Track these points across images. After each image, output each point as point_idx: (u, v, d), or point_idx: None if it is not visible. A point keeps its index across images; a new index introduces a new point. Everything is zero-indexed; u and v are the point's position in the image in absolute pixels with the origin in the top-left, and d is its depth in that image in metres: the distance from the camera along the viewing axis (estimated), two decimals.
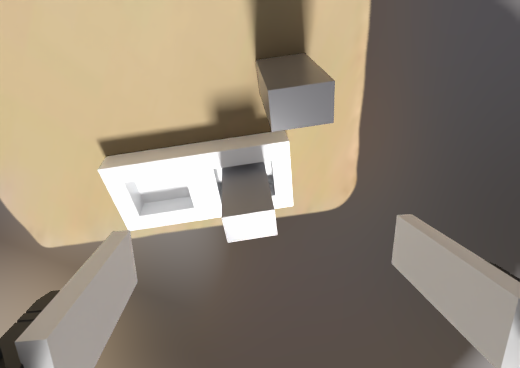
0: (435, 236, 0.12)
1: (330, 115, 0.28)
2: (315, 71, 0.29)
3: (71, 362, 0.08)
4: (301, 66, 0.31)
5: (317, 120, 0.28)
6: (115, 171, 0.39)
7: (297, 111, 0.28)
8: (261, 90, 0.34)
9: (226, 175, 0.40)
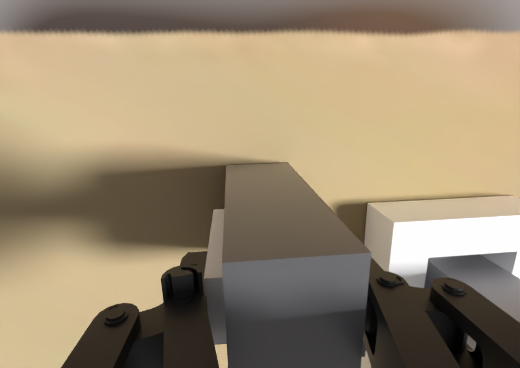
0: None
1: (342, 264, 0.08)
2: None
3: None
4: None
5: (350, 303, 0.08)
6: None
7: (307, 359, 0.09)
8: None
9: None
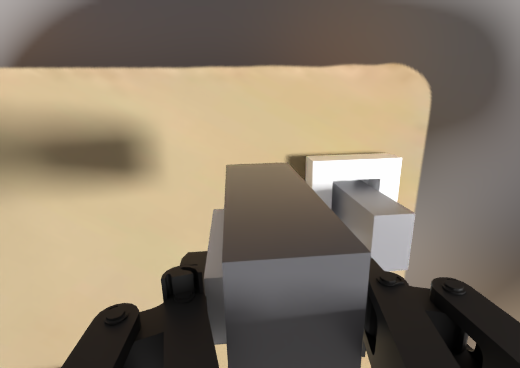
0: None
1: (342, 264, 0.08)
2: None
3: None
4: None
5: (350, 303, 0.08)
6: None
7: (307, 359, 0.09)
8: None
9: None
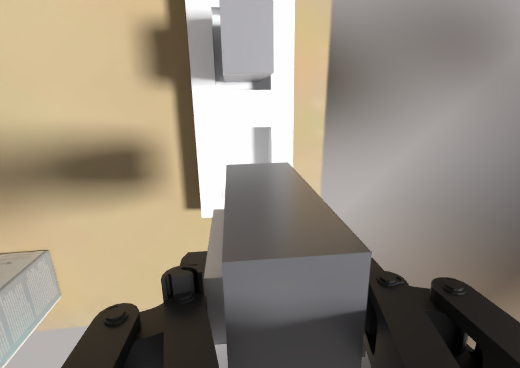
0: None
1: (342, 264, 0.08)
2: None
3: None
4: None
5: (350, 303, 0.08)
6: (205, 200, 0.35)
7: (308, 359, 0.09)
8: None
9: None
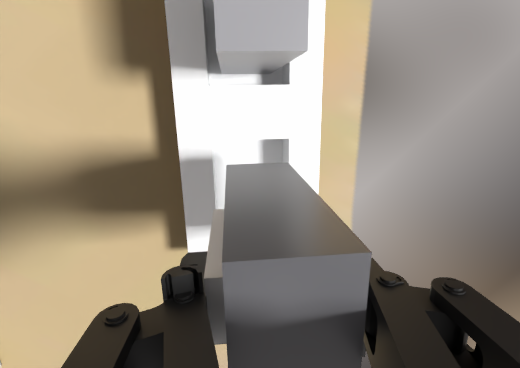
0: None
1: (342, 264, 0.08)
2: None
3: None
4: None
5: (350, 303, 0.08)
6: (194, 242, 0.25)
7: (307, 360, 0.09)
8: None
9: None
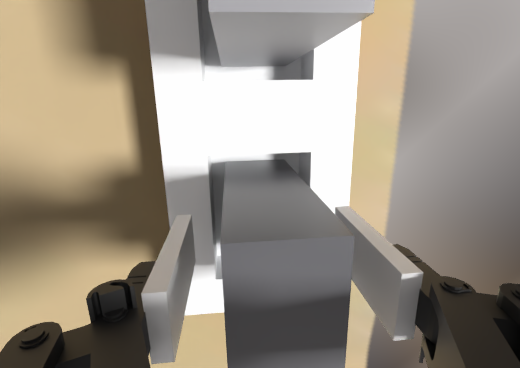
0: (359, 224, 0.14)
1: (328, 246, 0.09)
2: None
3: (174, 315, 0.10)
4: None
5: (336, 282, 0.09)
6: None
7: (298, 334, 0.10)
8: None
9: None
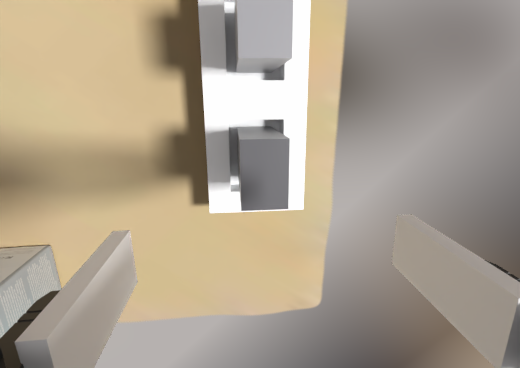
0: (435, 236, 0.12)
1: (279, 142, 0.24)
2: None
3: (71, 362, 0.08)
4: None
5: (283, 157, 0.24)
6: (214, 195, 0.34)
7: (269, 180, 0.25)
8: None
9: None
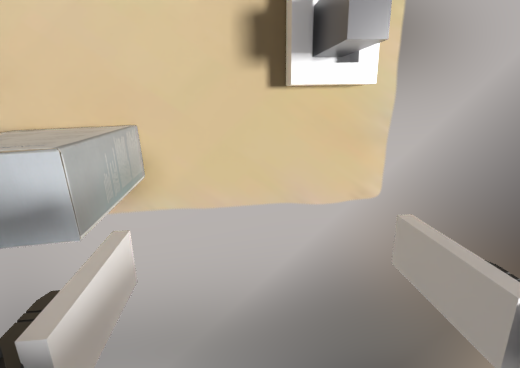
0: (435, 236, 0.12)
1: None
2: None
3: (71, 362, 0.08)
4: (328, 6, 0.32)
5: None
6: (296, 66, 0.36)
7: (373, 8, 0.27)
8: (342, 52, 0.35)
9: None
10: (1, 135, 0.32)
